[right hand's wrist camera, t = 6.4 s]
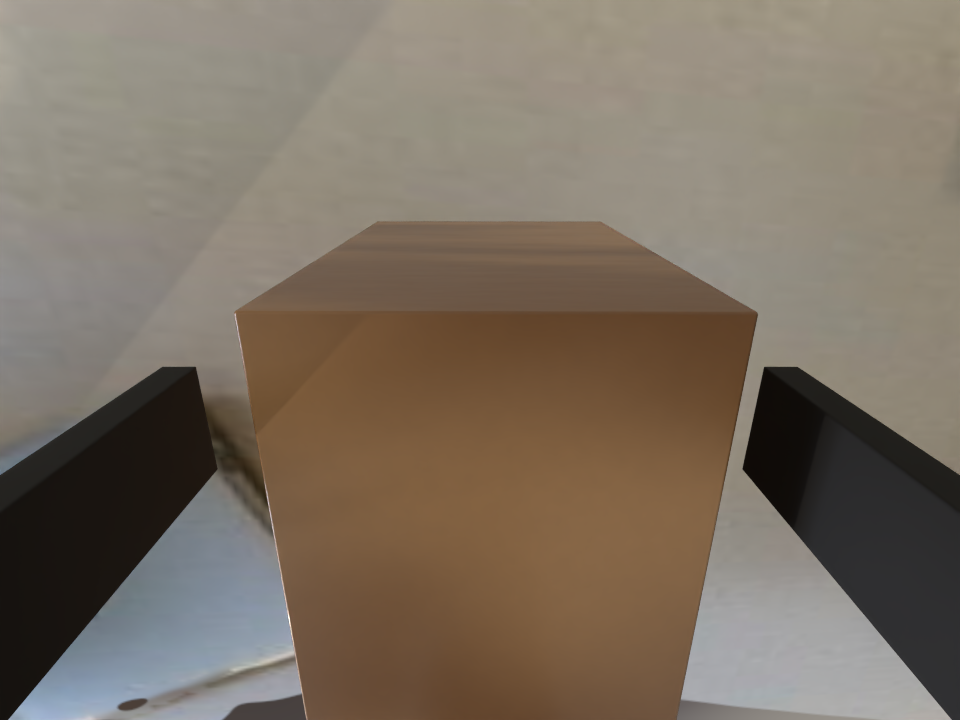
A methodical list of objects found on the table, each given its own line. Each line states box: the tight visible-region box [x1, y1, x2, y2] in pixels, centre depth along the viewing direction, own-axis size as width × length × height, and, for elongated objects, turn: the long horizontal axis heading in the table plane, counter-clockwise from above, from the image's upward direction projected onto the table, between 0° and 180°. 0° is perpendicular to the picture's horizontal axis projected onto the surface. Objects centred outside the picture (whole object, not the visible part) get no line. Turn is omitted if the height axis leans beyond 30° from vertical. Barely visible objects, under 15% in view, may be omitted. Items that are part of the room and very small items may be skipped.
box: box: [234, 222, 758, 720], centre depth 19 cm, size 30×8×12 cm, turn 0°
